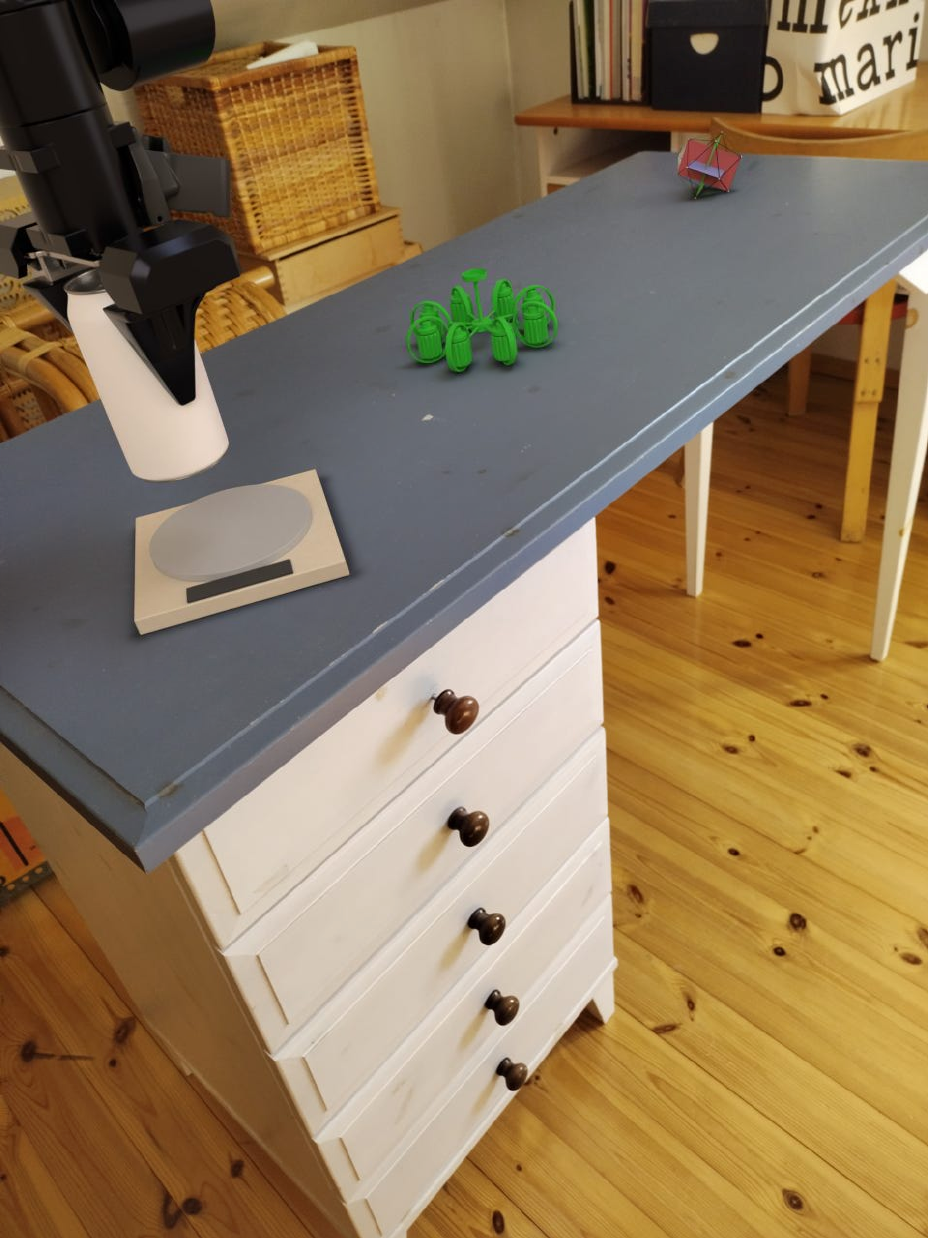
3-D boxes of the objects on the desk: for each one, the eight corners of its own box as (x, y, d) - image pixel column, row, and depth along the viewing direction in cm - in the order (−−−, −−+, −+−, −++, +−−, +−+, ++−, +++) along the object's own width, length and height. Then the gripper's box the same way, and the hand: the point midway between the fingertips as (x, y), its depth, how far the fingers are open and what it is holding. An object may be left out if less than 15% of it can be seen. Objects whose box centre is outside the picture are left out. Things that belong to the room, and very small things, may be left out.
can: (243, 432, 63) (183, 249, 56) (213, 480, 58) (144, 286, 51) (153, 441, 65) (84, 263, 57) (116, 489, 59) (35, 300, 52)
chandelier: (380, 377, 88) (364, 303, 84) (447, 314, 99) (435, 246, 94) (530, 382, 82) (520, 303, 78) (584, 315, 93) (578, 242, 88)
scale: (140, 635, 61) (130, 613, 60) (141, 531, 72) (132, 510, 71) (349, 575, 63) (343, 552, 62) (319, 482, 74) (313, 461, 73)
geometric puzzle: (757, 163, 117) (718, 109, 115) (748, 179, 112) (706, 123, 110) (710, 202, 122) (671, 151, 120) (699, 219, 117) (659, 166, 115)
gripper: (279, 72, 47) (351, 366, 57) (104, 78, 59) (188, 321, 69) (80, 134, 42) (197, 448, 51) (-70, 126, 54) (48, 383, 63)
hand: (158, 391), depth 59 cm, fingers closed on can, 6 cm apart
